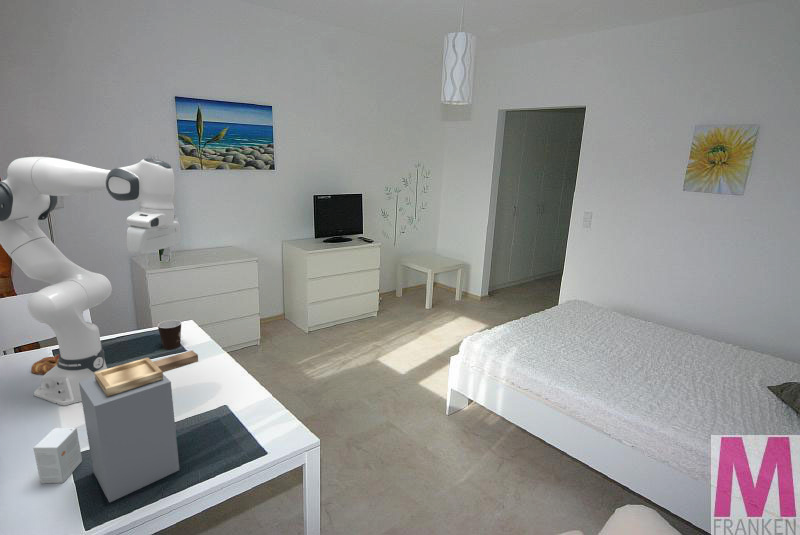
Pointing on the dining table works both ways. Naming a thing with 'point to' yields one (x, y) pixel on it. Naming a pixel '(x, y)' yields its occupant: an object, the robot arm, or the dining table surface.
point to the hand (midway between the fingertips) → (155, 263)
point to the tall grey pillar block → (130, 435)
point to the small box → (58, 455)
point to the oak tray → (140, 372)
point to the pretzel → (44, 365)
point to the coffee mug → (170, 334)
